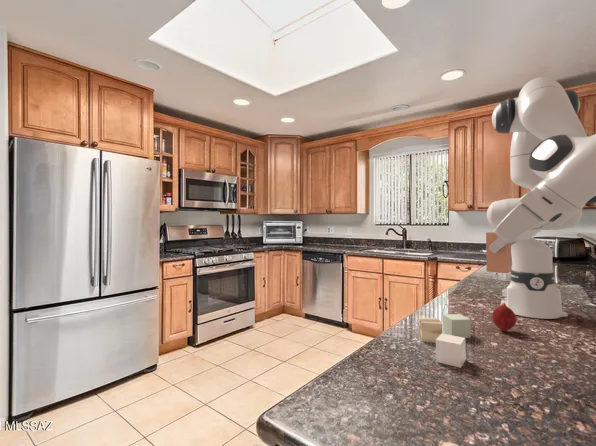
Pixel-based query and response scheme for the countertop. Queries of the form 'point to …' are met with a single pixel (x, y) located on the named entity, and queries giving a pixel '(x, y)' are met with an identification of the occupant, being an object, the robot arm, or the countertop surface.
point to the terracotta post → (497, 256)
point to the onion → (504, 317)
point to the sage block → (456, 325)
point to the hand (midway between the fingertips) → (495, 250)
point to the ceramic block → (450, 350)
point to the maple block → (429, 329)
